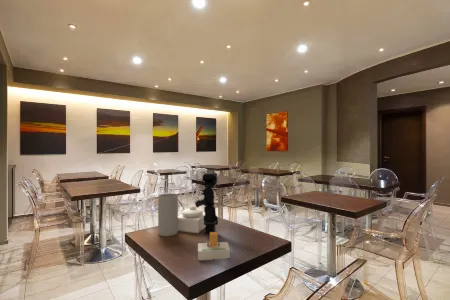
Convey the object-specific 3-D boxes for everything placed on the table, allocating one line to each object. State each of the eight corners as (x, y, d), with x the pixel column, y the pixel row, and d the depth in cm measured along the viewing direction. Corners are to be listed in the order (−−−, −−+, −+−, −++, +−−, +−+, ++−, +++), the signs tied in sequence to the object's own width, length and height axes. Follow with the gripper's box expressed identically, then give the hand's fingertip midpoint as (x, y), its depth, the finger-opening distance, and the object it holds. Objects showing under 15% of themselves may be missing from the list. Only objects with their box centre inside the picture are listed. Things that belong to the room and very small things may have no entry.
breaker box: (198, 251, 129) (198, 240, 129) (227, 250, 131) (227, 239, 130) (198, 260, 119) (198, 248, 119) (229, 258, 121) (229, 247, 121)
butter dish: (174, 230, 162) (174, 207, 162) (186, 222, 179) (186, 201, 179) (198, 233, 157) (198, 209, 156) (208, 225, 174) (208, 203, 174)
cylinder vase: (168, 238, 148) (168, 198, 148) (154, 234, 154) (154, 195, 154) (181, 232, 159) (181, 194, 158) (168, 228, 165) (168, 192, 165)
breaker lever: (209, 243, 126) (209, 232, 122) (216, 243, 127) (217, 231, 122) (209, 245, 125) (209, 234, 120) (217, 245, 125) (217, 234, 121)
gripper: (195, 191, 150) (195, 216, 150) (195, 197, 131) (195, 225, 131) (213, 191, 151) (213, 215, 151) (215, 197, 133) (215, 225, 133)
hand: (209, 220), depth 142 cm, fingers closed
